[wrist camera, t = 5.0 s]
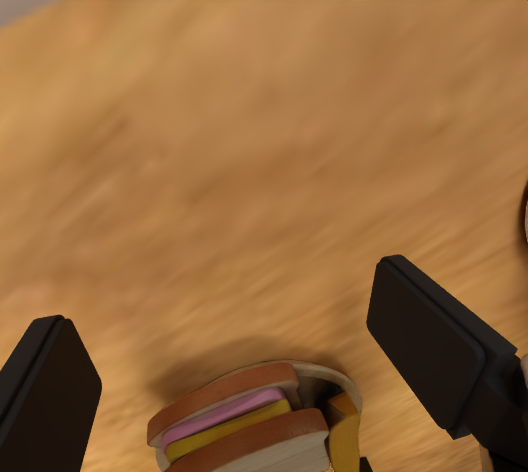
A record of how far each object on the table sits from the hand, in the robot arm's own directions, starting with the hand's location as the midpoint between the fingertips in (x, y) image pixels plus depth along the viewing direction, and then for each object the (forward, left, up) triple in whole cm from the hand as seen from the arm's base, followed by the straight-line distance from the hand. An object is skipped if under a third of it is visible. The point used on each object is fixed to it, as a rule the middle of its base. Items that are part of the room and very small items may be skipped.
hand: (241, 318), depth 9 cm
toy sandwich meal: (+12, 0, -4) cm, 13 cm away
